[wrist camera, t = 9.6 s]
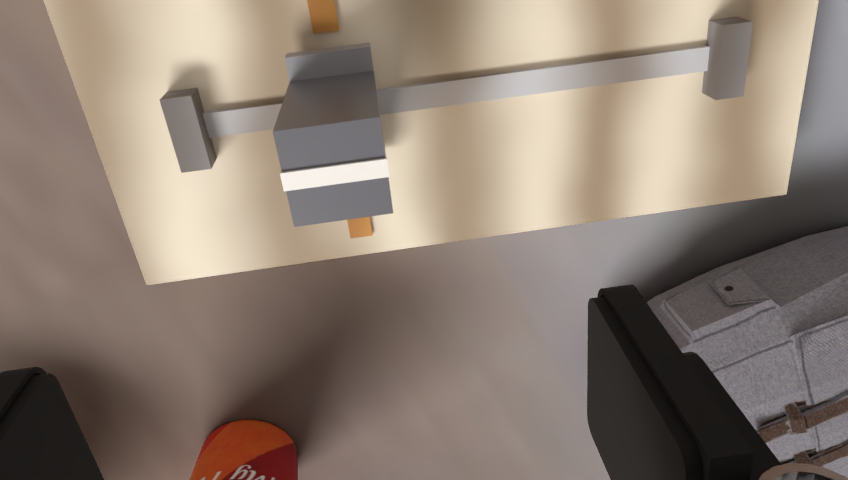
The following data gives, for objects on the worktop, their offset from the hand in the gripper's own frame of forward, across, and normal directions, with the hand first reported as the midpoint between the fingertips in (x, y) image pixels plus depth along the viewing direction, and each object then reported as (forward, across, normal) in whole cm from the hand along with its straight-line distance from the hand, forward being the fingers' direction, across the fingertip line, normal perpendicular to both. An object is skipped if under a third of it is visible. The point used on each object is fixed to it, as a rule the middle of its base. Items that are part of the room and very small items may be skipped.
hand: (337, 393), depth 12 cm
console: (+20, -4, 0) cm, 21 cm away
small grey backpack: (+21, -21, +17) cm, 35 cm away
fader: (+17, 0, 0) cm, 17 cm away
